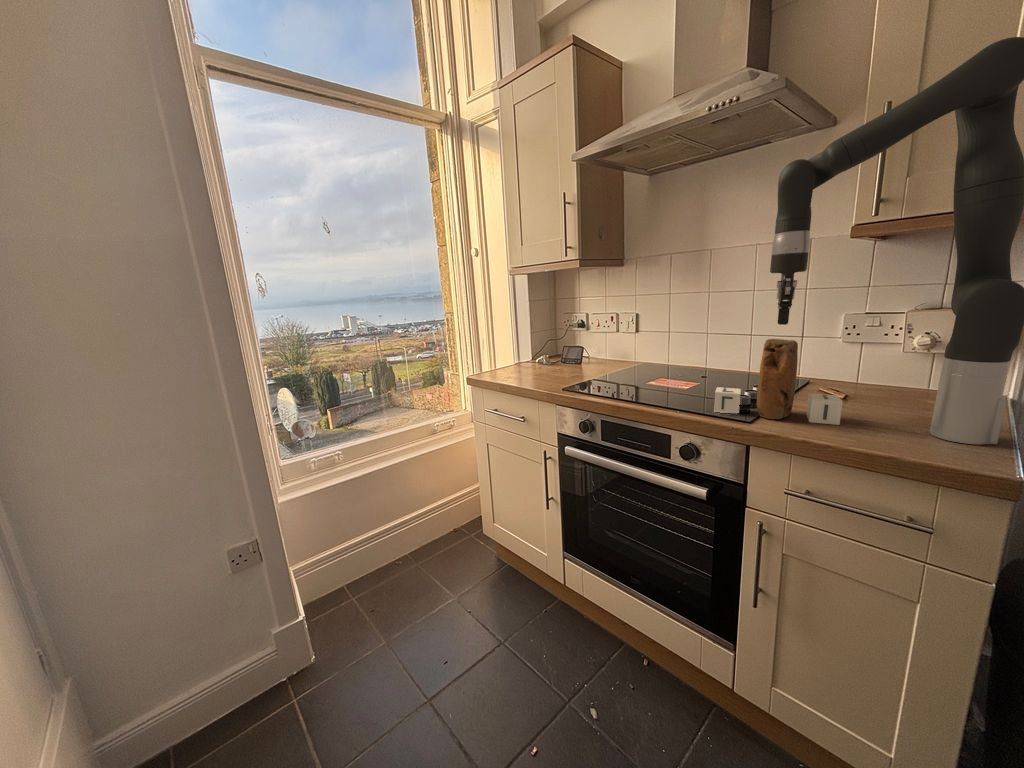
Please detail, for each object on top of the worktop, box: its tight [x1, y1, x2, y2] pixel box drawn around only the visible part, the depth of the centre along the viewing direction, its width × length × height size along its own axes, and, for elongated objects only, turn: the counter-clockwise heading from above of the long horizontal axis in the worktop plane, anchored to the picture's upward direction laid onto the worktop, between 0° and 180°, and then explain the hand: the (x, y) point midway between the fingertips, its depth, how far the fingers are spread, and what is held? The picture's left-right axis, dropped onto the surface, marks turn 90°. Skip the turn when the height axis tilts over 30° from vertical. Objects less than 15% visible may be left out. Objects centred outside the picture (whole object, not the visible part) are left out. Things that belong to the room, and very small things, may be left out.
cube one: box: [806, 393, 844, 426], centre depth 103 cm, size 6×6×6 cm
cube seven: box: [713, 386, 742, 414], centre depth 114 cm, size 6×6×6 cm
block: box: [756, 338, 799, 420], centre depth 107 cm, size 11×8×20 cm
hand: (782, 324), depth 104 cm, fingers closed
